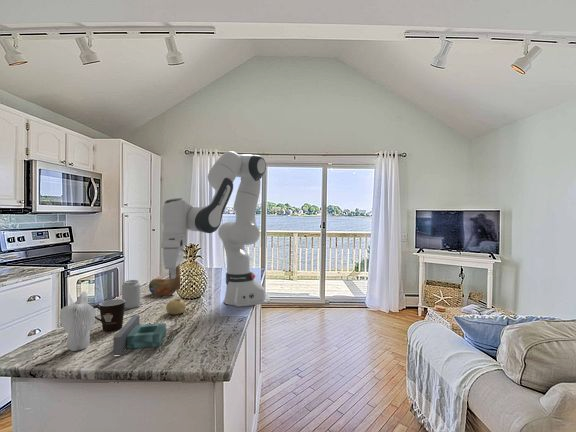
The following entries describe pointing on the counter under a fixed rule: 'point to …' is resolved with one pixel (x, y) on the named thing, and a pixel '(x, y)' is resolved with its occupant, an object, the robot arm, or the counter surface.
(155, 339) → the block
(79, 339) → the shell sculpture
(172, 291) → the tin
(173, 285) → the dowel
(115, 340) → the wall
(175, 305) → the onion
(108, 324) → the coffee mug
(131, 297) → the can
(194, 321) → the counter surface
